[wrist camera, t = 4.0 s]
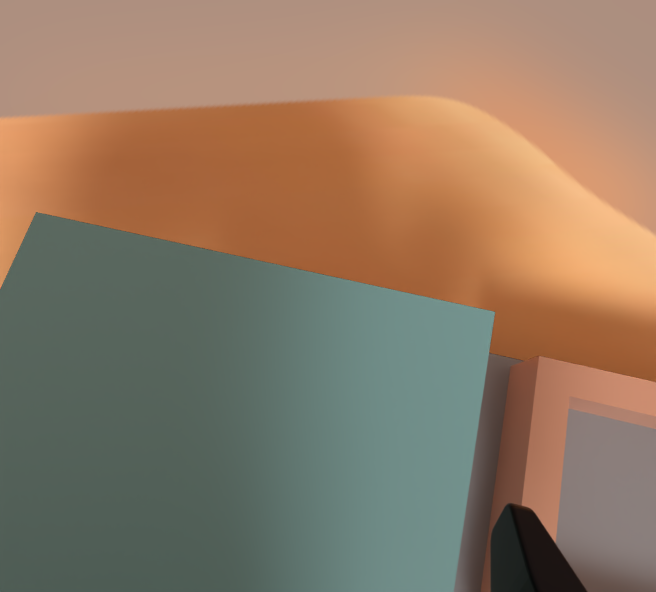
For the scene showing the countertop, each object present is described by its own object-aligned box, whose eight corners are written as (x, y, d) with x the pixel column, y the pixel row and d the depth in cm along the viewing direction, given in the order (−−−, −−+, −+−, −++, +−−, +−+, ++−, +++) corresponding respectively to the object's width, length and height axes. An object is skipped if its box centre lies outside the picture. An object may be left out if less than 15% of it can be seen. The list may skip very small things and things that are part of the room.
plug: (359, 545, 14) (391, 1010, 3) (216, 504, 15) (-221, 761, 4) (389, 394, 16) (495, 312, 4) (257, 361, 16) (36, 211, 5)
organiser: (778, 744, 13) (923, 853, 10) (138, 549, 16) (80, 582, 12) (770, 423, 16) (884, 422, 12) (220, 296, 18) (190, 268, 15)
